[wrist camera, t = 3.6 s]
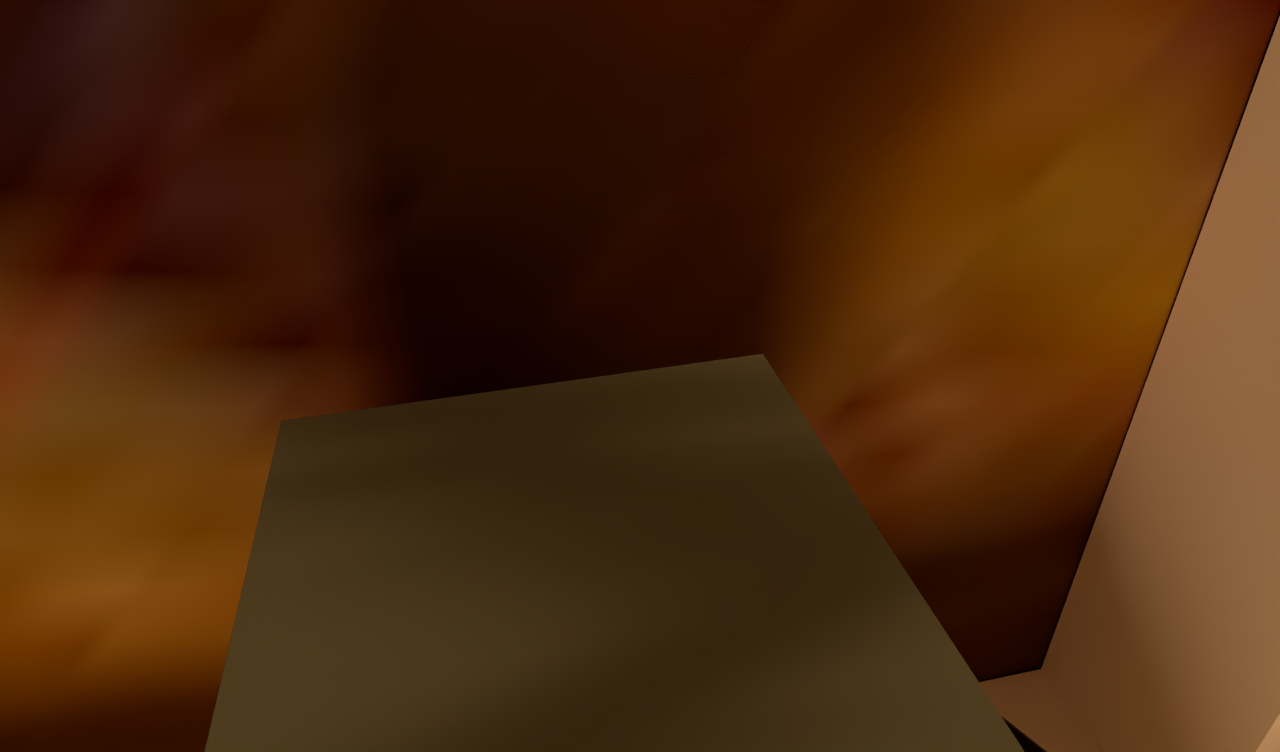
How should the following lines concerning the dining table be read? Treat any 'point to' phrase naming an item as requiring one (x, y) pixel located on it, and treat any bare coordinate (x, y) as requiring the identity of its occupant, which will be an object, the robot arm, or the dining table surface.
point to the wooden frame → (1187, 508)
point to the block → (584, 583)
